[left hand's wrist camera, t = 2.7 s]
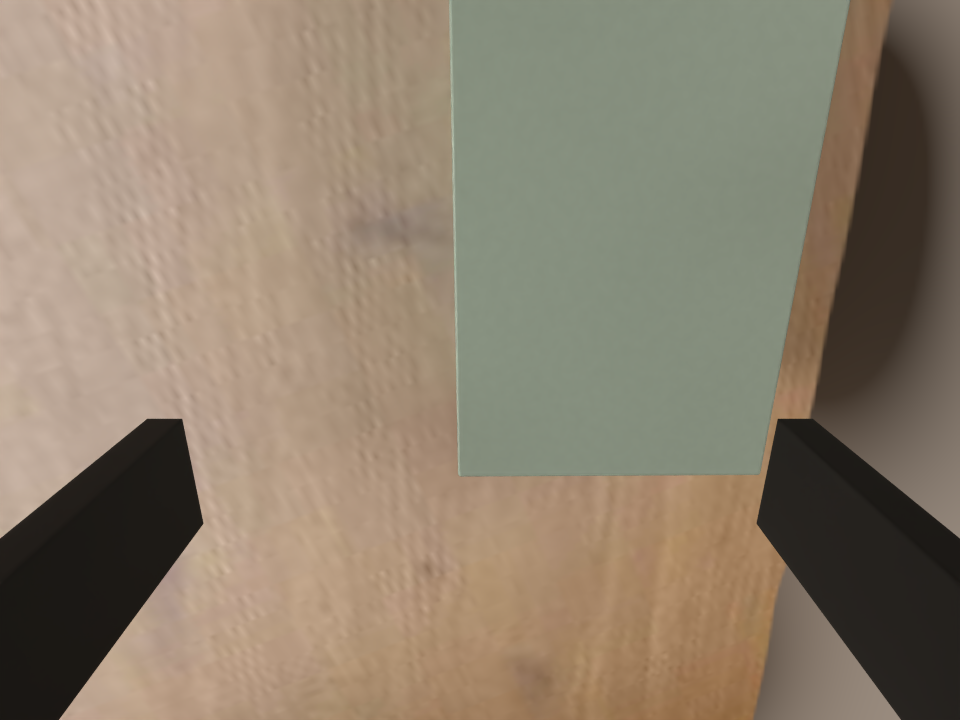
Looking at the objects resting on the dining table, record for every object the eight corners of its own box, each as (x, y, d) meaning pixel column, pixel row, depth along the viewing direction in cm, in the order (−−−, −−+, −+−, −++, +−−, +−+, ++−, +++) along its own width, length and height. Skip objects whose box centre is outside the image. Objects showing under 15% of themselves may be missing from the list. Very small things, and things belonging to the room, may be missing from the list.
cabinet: (456, -62, 22) (445, -175, 14) (744, -63, 22) (885, -176, 14) (463, 390, 29) (458, 477, 21) (685, 389, 29) (760, 475, 21)
